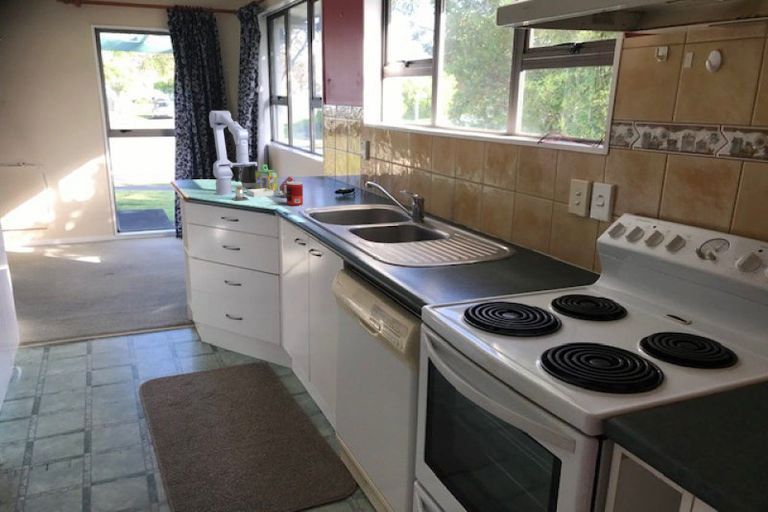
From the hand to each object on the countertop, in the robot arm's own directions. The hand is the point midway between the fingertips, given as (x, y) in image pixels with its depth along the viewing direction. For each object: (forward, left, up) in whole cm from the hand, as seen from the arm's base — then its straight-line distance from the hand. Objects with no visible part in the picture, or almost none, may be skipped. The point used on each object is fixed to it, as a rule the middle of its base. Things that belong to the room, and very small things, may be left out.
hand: (244, 181), depth 292 cm
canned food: (+24, +17, -10) cm, 31 cm away
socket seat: (-1, -2, -10) cm, 10 cm away
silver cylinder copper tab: (-1, -2, -9) cm, 10 cm away
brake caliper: (+1, +24, -10) cm, 26 cm away
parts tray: (-11, +13, -10) cm, 19 cm away
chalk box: (-26, +23, -10) cm, 36 cm away
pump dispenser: (-42, +19, -10) cm, 47 cm away
